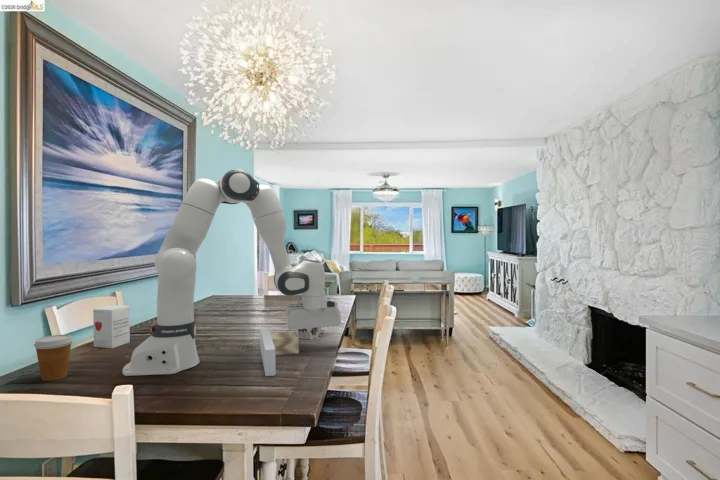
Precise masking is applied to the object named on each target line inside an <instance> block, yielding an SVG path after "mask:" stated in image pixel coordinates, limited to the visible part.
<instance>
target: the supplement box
mask: <svg viewBox="0 0 720 480" xmlns="http://www.w3.org/2000/svg"><path fill="white" fill-rule="evenodd" d="M92 312H93V313H92V314H93V315H92V316H93V317H92V318H93V348H101V349H102V348H104V349H115V348H118V347H120V346H123V345H126V344H130V341H131V339H130V337H131V335H130V333H131V332H130V331H131V330H130V329H131V328H130V305H120V304H119V305H118V304H117V305H116V304H115V305H114V304H111V305H105V306H99V307H96V308H93V310H92Z"/></svg>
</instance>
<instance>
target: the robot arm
mask: <svg viewBox="0 0 720 480" xmlns="http://www.w3.org/2000/svg"><path fill="white" fill-rule="evenodd" d="M240 203H243V204H245V205H246V207H248V209H249V211H250V212H251V217H252V219H253V222H254V226H255V227H256V229H257V231H258V233H259V236H260V237H261V239H262V240H263V242H264V243H265V245H266V247H267V248H268V251H269V254H270V258H271V260H272V263H273V268H274V275H273V283H274V286H275V288H276V289H277V290H278V291H279V292H280V293H281V294H283V295H284V296H288V297H292V296H296V295H300V294H301V298H302V303H300V304H298V303H290V304H288V305H287V306H286V308H285V315H286V316H287V317H286V327H287V329H288V330H290V331H293V330H298V329H305V328H307V331H308V332H309V334H310V339H309V340H311V341H313V340H314V341H315V340H319V336H320V333H321V331H322V328H326V327H327V328H328V327H338V326H340V325H341V324H342V317H341V312H340V309H339V308H338V304H339V303H338V301H337V300H335V299H332V298H331V297H330V298H329V297H326V291H325V284H326V275H325V274H326V272H325V267H324V264H323V263H322V262H321V261H318V260H314V259H304V260H302V261H301V262H300V263H299V264H296V265H295V266H292V263H291V261H290V258H289V254H288V252H287V248H286V244H285V236H286V233H287V232H286V231H287V222H286V217H285V214H284V210H283V207H282V204H281V202H280V200H279V197H278V195H277V193H276V191H275V189H274V188H273V187H272V186H270V185H268V184H260V183H259V182H258V181H257V180H256V179H255V178H254V177H253V176H252V175H251V174H250V173H249V172H248V171H247V170H244V169H242V168H233V169H230V170H228V171H226V173H224V174H223V175H222V176H221V177H220V178H219V179H218V180H215V181H214V180H211V179H209V178H198V179H196V180H195V181H193V183H192V184H191V186H190V187H189V189H188V190H187V192H186V194H185V195H184V197H183V199H182V202H181V204H180V206H179V209H178V211H177V213H176V216H175V217H174V220H173V222H172V223H171V224H172V225H171V226H170V229H169V230H168V233H166V236H165V238H164V240H163V241H162V244H161V246H160V248H159V250H158V252H157V254H156V256H155V259H154V267H155V270H156V272H157V273H158V277H157V278H158V279H157V294H156V295H157V296H156V314H157V315H156V321H157V322H152V324H151V325H150V332H149V333H150V336H149V337H148V338H146V339H145V340H144V341H142V342H141V343H140V344H139V345H138V346H136V347H135V349H134V350H133V351H132V355H131V357H130V362H128V363H126V364H125V365H124V366H123V368H122V371H121V372H122V375H123V376H126V377H129V376H130V377H131V376H149V375H151V376H154V375H174V374H177V373H179V372H181V371H185V370H188V369H192V368H193V367H195V366H198V364H200V362H201V361H200V357H199V355H198V350H197V346H196V344H197V343H196V335H197V334H196V332H197V325H196V320H195V316H194V315H195V311H194V310H195V308H194V307H195V306H194V305H195V304H194V303H195V302H194V300H195V298H194V295H195V289H196V277H197V275H196V273H197V260H196V258H195V256H196V255H197V252H198V250H199V248H200V247H201V245H202V244H203V241H205V239H206V237H207V235H208V232H209V229H210V227H211V224H212V222H213V220H214V218H215V215H216V212H217V210H218V208H219V206H220V205H221V204H227V205H236V204H237V205H238V204H240ZM312 328H317V332H316V334H311V332H310V331H312Z"/></svg>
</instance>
